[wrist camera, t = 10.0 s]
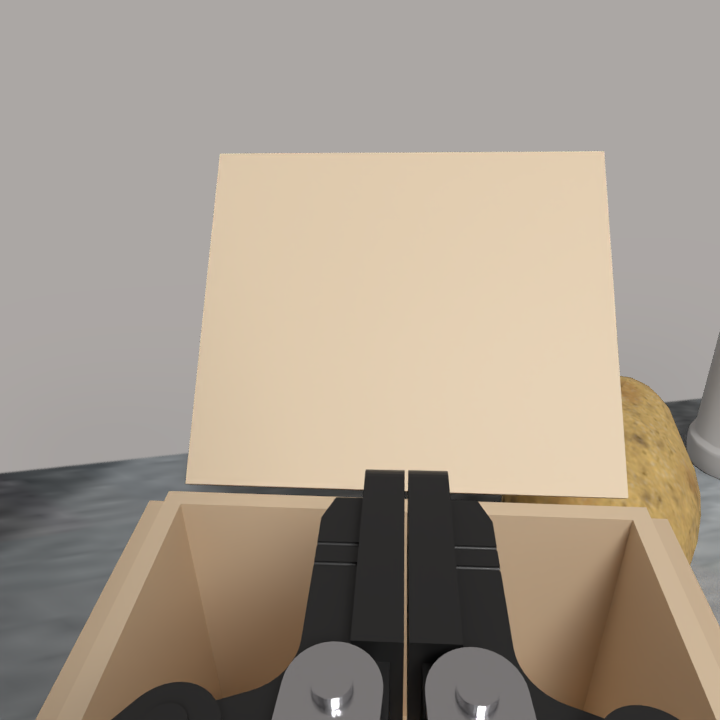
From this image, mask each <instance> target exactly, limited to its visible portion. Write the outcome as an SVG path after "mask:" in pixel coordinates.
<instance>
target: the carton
mask: <svg viewBox="0 0 720 720" xmlns="http://www.w3.org/2000/svg"><path fill="white" fill-rule="evenodd" d="M335 498H336V497H327V496H298V495H269V494H239V493H210V492H181V491H169V492H168V494H167V496H166V498H165V500H164V501H149V503H148V505H147V507H146V509H145V511H144V513H143V515H142V516H141V518H140V520H139V522H138V524H137V526H136V528H135V530H134V532H133V534H132V536H131V538H130V539H129V541H128V543H127V545H126V547H125V549H124V551H123V553H122V555H121V557H120V559H119V561H118V562H117V564H116V566H115V568H114V570H113V572H112V574H111V576H110V578H109V580H108V582H107V584H106V585H105V587H104V589H103V591H102V593H101V595H100V597H99V599H98V601H97V603H96V605H95V607H94V609H93V610H92V612H91V614H90V616H89V618H88V620H87V622H86V624H85V626H84V628H83V630H82V632H81V633H80V635H79V637H78V639H77V641H76V643H75V645H74V647H73V649H72V651H71V653H70V655H69V656H68V658H67V660H66V662H65V664H64V666H63V668H62V670H61V672H60V674H59V676H58V678H57V679H56V681H55V683H54V685H53V687H52V689H51V691H50V693H49V695H48V697H47V699H46V701H45V702H44V704H43V706H42V708H41V710H40V712H39V714H38V716H37V718H36V720H111V719H112V718H114V717H115V716H116V715H117V714H119V713H120V712H121V711H122V710H124V709H125V708H126V707H127V706H128V705H130V704H131V703H132V702H133V701H135V700H136V699H137V698H138V697H140V696H141V695H143V694H144V693H145V692H147V691H149V690H151V689H153V688H155V687H158V686H160V685H163V684H167V683H172V682H190V683H193V684H197V685H199V686H201V687H203V688H205V689H206V690H207V691H209V692H210V693H211V694H212V696H213V697H214V698H215V699H216V700H218V699H222V698H225V697H229V696H233V695H236V694H240V693H243V692H247V691H250V690H253V689H256V688H259V687H261V686H263V685H265V684H267V683H269V682H271V681H272V680H274V679H275V678H276V677H278V676H279V675H280V674H281V673H282V672H283V671H285V669H286V668H287V667H288V666H289V665H290V663H291V662H292V660H293V659H294V657H295V656H296V653H297V651H298V649H299V646H300V642H301V637H302V631H303V625H304V619H305V613H306V607H307V601H308V595H309V589H310V583H311V576H312V570H313V566H314V558H315V552H316V546H317V540H318V534H319V528H320V522H321V517H322V516H323V514H324V513H325V512H326V510H327V509H328V507H329V506H330V505H331V503H332V502H333V501H334V499H335ZM350 498H356V497H350ZM479 503H480V505H481V506H482V508H483V509H484V510H485V512H486V513H487V515H488V516H489V517H490V519H491V520H492V522H493V527H494V533H495V539H496V545H497V551H498V557H499V563H500V572H501V575H502V581H503V587H504V593H505V599H506V605H507V611H508V617H509V623H510V629H511V635H512V642H513V648H514V652H515V656H516V658H517V661H518V663H519V665H520V667H521V668H522V670H523V672H524V673H525V674H526V676H527V677H528V678H529V679H530V681H531V682H532V683H533V684H534V685H535V686H537V687H538V688H539V689H540V690H541V691H543V692H544V693H545V694H547V695H548V696H550V697H552V698H553V699H555V700H557V701H559V702H561V703H564V704H566V705H569V706H571V707H574V708H577V709H580V710H582V711H585V712H588V713H591V714H593V715H596V716H599V717H602V718H605V717H606V716H607V715H608V714H609V713H611V712H612V711H614V710H615V709H618V708H620V707H624V706H629V705H643V706H650V707H653V708H656V709H660V710H662V711H664V712H667V713H669V714H671V715H673V716H674V717H676V718H678V719H679V720H720V627H719V624H718V622H717V620H716V618H715V616H714V614H713V612H712V610H711V608H710V606H709V604H708V602H707V600H706V598H705V596H704V593H703V591H702V589H701V587H700V585H699V583H698V581H697V579H696V577H695V575H694V573H693V571H692V569H691V567H690V565H689V563H688V560H687V558H686V556H685V554H684V552H683V550H682V548H681V546H680V544H679V542H678V540H677V538H676V536H675V534H674V532H673V529H672V527H671V525H670V523H669V521H668V519H655V518H651V517H650V514H649V512H648V510H647V508H646V507H619V506H590V505H561V504H532V503H503V502H479ZM407 505H408V499H405V523H404V674H403V720H407Z"/></svg>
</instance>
